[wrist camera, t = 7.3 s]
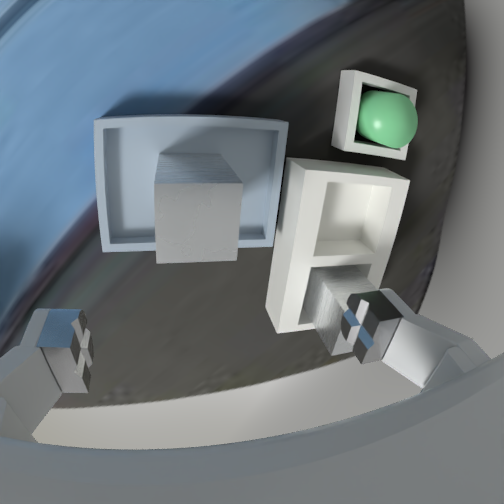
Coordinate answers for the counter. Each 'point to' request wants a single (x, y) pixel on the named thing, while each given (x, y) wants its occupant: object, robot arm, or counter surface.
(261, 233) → the tote
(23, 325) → the counter surface
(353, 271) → the block
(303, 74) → the counter surface
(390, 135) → the button
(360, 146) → the button housing
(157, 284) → the counter surface
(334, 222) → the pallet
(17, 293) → the counter surface
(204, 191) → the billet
